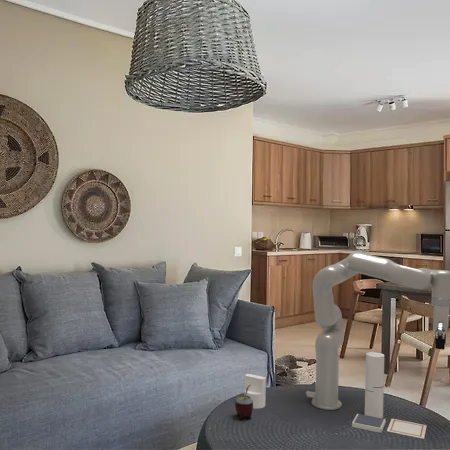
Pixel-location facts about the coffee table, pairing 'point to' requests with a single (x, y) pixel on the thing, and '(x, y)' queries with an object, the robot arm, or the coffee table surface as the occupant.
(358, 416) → the ink pad
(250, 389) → the base with upright slab
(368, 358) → the cylindrical container
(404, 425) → the marked paper
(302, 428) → the coffee table surface
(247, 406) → the mate gourd
